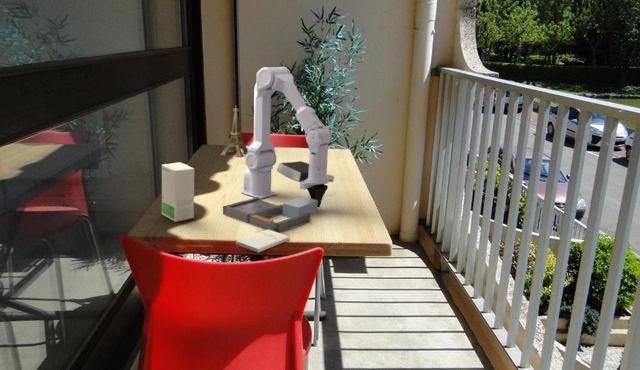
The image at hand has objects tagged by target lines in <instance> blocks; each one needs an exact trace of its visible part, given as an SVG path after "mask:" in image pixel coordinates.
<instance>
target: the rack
mask: <svg viewBox="0 0 640 370" xmlns="http://www.w3.org/2000/svg"><path fill="white" fill-rule="evenodd" d="M224 214H225V215H224ZM222 215H224V216H227V217H229V218H233V219H235V218H236V220H238V219H239V220H238V221H241V222H244V223H247V224H250V225H252V226H255V227H258V228H260V227H261V229H263V230H272V231H275V232H278V233H281V232H284V231H287V230H289V229H292V228H295V227H299V226H302V225H304V224H306V223H309V222H311V215H310V213H304V214H301V215H298V216H295V217H292V218H290V217H288V218H287V219H284V220H281V221H277V222H275V221H274V220H273V219H270V218H273V217H276V216H279V215H283V204H275V203H271V202H268V201H264V200H262V199H260V198H259V197H252V198H250V199H245V200H241V201H237V202H234V203H230V204H226V205H224V206H222ZM272 216H273V217H272ZM269 217H270V218H269Z"/></svg>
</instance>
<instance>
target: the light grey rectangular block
mask: <svg viewBox="0 0 640 370" xmlns="http://www.w3.org/2000/svg"><path fill="white" fill-rule="evenodd" d="M317 204H318V200H315V199H311V197H305V196H299V197H297V198H295V199H291V200H289V201H286V202H283V203H282V205H283V213H282V217H286V216H287V218H290V217H291V218H292V217H295V216H298V215H301V214H304V213H310V216H311V215H314V214H315V213H317V212H318V208H317Z"/></svg>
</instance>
